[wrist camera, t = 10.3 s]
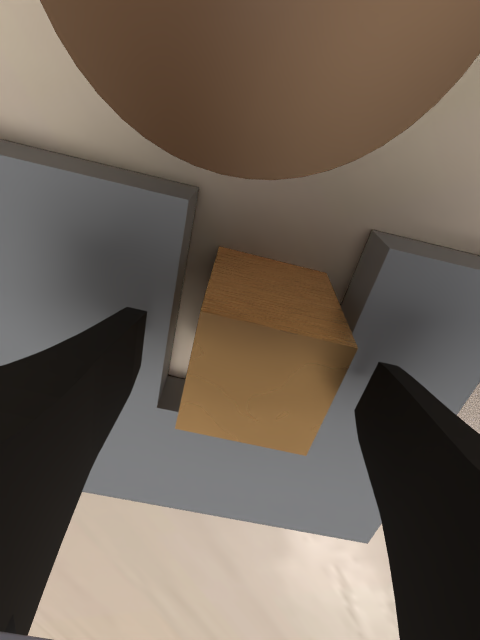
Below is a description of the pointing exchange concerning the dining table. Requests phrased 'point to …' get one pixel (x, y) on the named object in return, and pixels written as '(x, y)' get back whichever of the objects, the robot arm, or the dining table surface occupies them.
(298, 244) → the dining table surface
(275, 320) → the block
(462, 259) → the notched board
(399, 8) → the bobbin
